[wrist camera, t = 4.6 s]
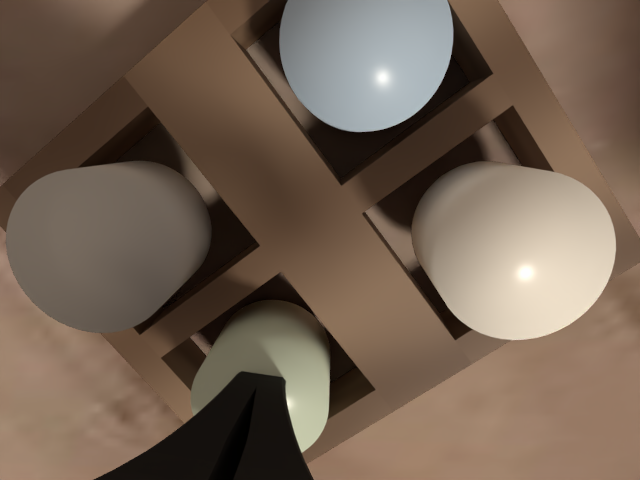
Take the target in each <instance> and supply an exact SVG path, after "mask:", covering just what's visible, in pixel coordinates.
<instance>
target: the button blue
mask: <svg viewBox="0 0 640 480" xmlns="http://www.w3.org/2000/svg"><path fill="white" fill-rule="evenodd" d="M279 44H280V56H281V61H282V66H283V69H284V72H285V75H286V78H287V80H288V82H289V84H290V86H291V88H292V90H293V91H294V93H295V95H296V96H297V98H298V99H299V100H300V101H301V102H302V104H303V105H304V106H305V107H306V108H307V109H308V110H309V111H310V112H311V113H313V114H314V115H315V116H316V117H317V118H318V119H320V120H321V121H323V122H324V123H326V124H328V125H329V126H331V127H334V128H337V129H339V130H343V131H348V132H368V131H377V130H382V129H386V128H389V127H392V126H395V125H397V124H399V123H401V122H403V121H405V120H406V119H408V118H409V117H411V116H412V115H414V114H415V113H416V112H418V111H419V110H420V109H421V108H422V107H423V106H424V105H425V104H426V103H427V102H428V101H429V100H430V99H431V97H432V96H433V95H434V93H435V92H436V90H437V89H438V87H439V85H440V84H441V82H442V80H443V78H444V76H445V73H446V71H447V68H448V65H449V61H450V58H451V53H452V46H453V23H452V16H451V11H450V7H449V4H448V1H447V0H288V1H287V3H286V6H285V9H284V12H283V16H282V20H281V26H280V39H279Z"/></svg>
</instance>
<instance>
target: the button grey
mask: <svg viewBox="0 0 640 480" xmlns="http://www.w3.org/2000/svg"><path fill="white" fill-rule="evenodd" d="M211 237H212V227H211V219H210V216H209V212H208V209H207V207H206V204H205V202H204V200H203V198H202V197H201V195H200V194H199V192H198V191H197V189H196V188H195V187H194V186H193V185H192V184H191V183H190V181H188V180H187V179H186V178H185V177H184V176H183V175H181V174H180V173H178V172H177V171H175V170H173V169H171V168H169V167H167V166H165V165H162V164H159V163H155V162H150V161H128V162H120V163H112V164H105V165H97V166H90V167H82V168H75V169H67V170H62V171H57V172H54V173H51V174H48V175H46V176H44V177H42V178H40V179H38V180H37V181H35V182H34V183H33V184H31V185H30V186H29V187H28V188H27V189H26V190H25V191H24V192H23V193H22V194H21V195H20V197H19V198H18V200H17V201H16V202H15V205H14V207H13V209H12V211H11V213H10V216H9V219H8V224H7V230H6V247H7V255H8V259H9V263H10V266H11V268H12V271H13V274H14V276H15V278H16V279H17V281H18V283H19V285H20V286H21V288H22V289H23V291H24V292H25V294H26V295H27V296H28V297H29V298H30V299H31V301H32V302H33V303H34V304H35V305H36V306H38V307H39V308H40V309H41V310H42V311H43V312H45V313H46V314H47V315H49V316H50V317H52V318H53V319H55V320H57V321H58V322H60V323H63V324H65V325H67V326H69V327H72V328H75V329H78V330H82V331H87V332H95V333H112V332H118V331H123V330H126V329H129V328H132V327H134V326H136V325H138V324H140V323H142V322H143V321H145V320H146V319H148V318H149V317H150V316H151V315H153V314H154V313H155V312H156V311H157V310H158V309H159V308H160V307H161V306H162V305H163V304H164V303H165V302H166V301H167V300H168V299H169V298H170V297H171V296H172V295H173V294H174V293H175V292H176V291H177V290H178V289H179V288H180V287H181V286H182V285H183V284H184V283H185V282H186V281H187V280H188V279H189V278H190V277H191V276H192V275H193V274H194V273H195V272H196V271H197V270H198V269H199V268H200V267H201V265H202V264H203V262H204V260H205V258H206V256H207V254H208V251H209V248H210V244H211Z"/></svg>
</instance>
